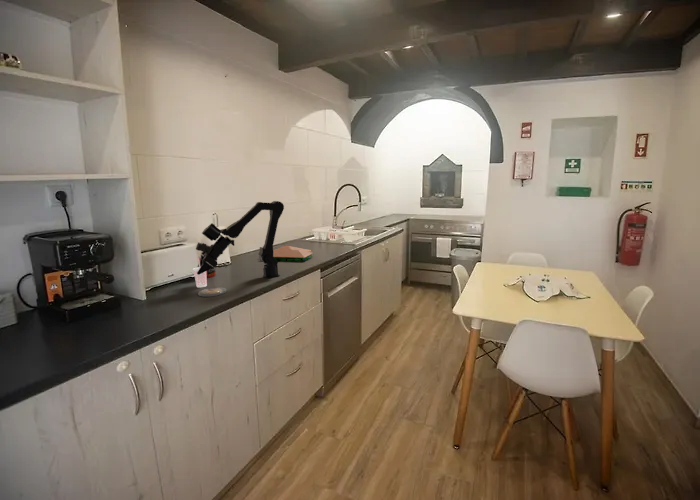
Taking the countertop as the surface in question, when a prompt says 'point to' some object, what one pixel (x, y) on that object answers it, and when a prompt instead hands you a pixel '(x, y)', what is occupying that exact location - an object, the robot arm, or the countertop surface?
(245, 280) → the countertop surface
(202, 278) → the beverage cup
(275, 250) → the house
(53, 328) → the countertop surface
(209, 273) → the canned food
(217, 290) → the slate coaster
